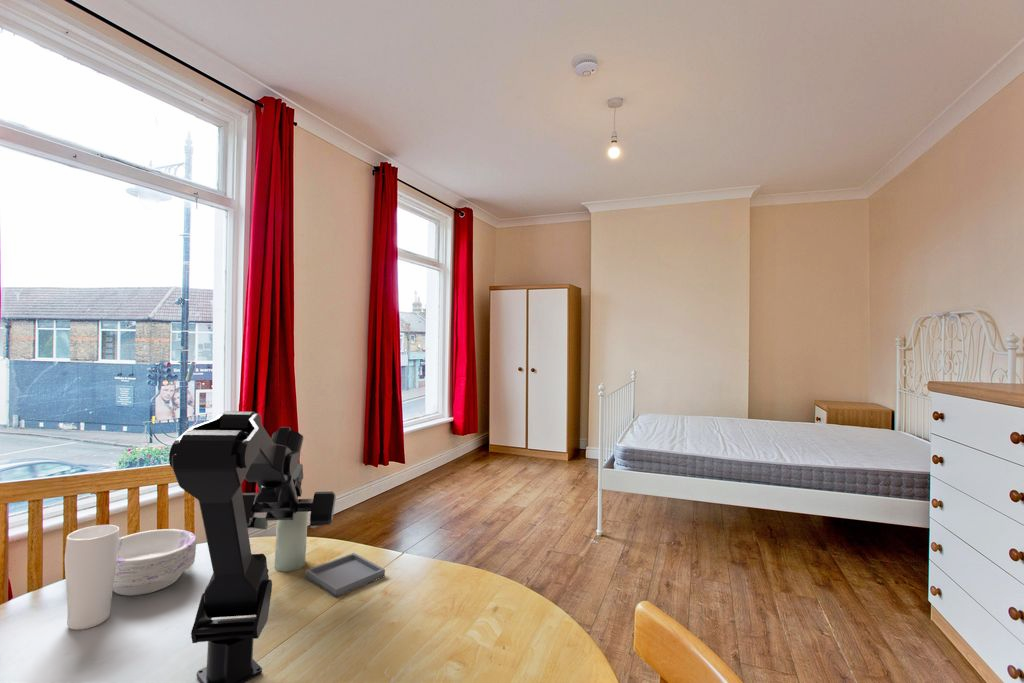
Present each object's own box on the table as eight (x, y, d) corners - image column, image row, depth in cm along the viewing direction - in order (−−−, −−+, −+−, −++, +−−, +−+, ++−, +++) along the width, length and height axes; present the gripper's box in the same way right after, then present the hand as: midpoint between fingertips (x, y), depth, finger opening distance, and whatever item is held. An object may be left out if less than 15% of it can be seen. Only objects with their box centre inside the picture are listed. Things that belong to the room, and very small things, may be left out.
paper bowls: (210, 577, 94) (212, 538, 95) (119, 614, 81) (122, 568, 81) (169, 558, 102) (171, 521, 102) (79, 589, 88) (81, 546, 88)
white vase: (82, 637, 74) (88, 542, 75) (49, 630, 76) (54, 537, 76) (125, 614, 81) (130, 526, 81) (94, 607, 82) (99, 522, 83)
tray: (384, 576, 98) (384, 569, 98) (335, 597, 89) (336, 589, 89) (353, 559, 105) (353, 552, 105) (305, 577, 96) (305, 570, 96)
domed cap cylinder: (310, 564, 102) (313, 504, 102) (282, 574, 97) (286, 510, 97) (296, 556, 105) (299, 497, 106) (269, 565, 101) (272, 503, 101)
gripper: (336, 453, 96) (341, 490, 107) (236, 453, 92) (252, 491, 103) (328, 505, 89) (334, 539, 99) (218, 508, 85) (237, 543, 96)
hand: (290, 526), depth 100 cm, fingers open, 9 cm apart
